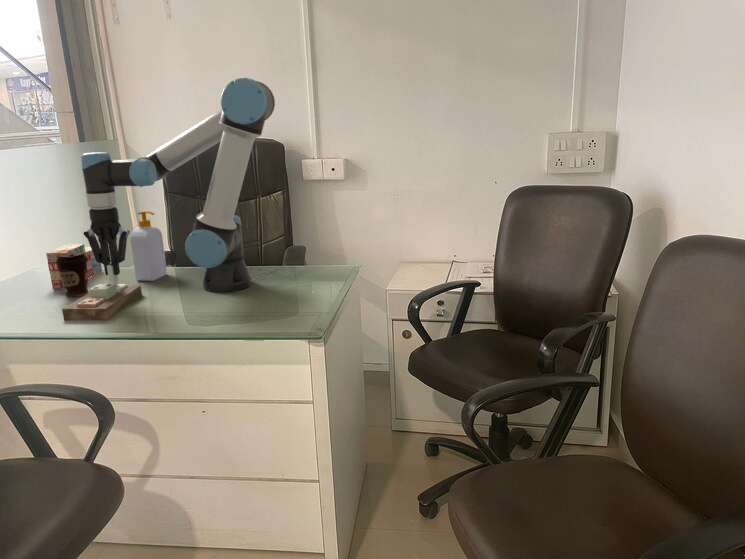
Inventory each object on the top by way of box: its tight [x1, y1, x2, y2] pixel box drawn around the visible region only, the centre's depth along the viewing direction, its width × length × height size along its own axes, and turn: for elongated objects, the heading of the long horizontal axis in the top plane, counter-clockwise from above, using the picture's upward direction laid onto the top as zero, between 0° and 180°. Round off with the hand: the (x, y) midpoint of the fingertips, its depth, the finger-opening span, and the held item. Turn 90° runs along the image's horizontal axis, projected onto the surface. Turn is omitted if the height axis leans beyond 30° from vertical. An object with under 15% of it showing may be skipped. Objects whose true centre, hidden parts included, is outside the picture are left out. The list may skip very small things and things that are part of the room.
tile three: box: [77, 298, 105, 307], centre depth 155 cm, size 5×5×3 cm
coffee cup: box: [56, 252, 90, 298], centre depth 172 cm, size 9×8×13 cm
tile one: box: [115, 283, 128, 292], centre depth 168 cm, size 5×5×3 cm
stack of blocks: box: [45, 243, 103, 290], centre depth 189 cm, size 21×6×12 cm, turn 0°
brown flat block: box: [61, 284, 143, 321], centre depth 162 cm, size 12×22×3 cm, turn 178°
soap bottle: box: [130, 210, 168, 282], centre depth 189 cm, size 9×7×23 cm
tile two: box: [88, 283, 116, 299], centre depth 161 cm, size 5×5×3 cm
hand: (114, 285), depth 168 cm, fingers closed
